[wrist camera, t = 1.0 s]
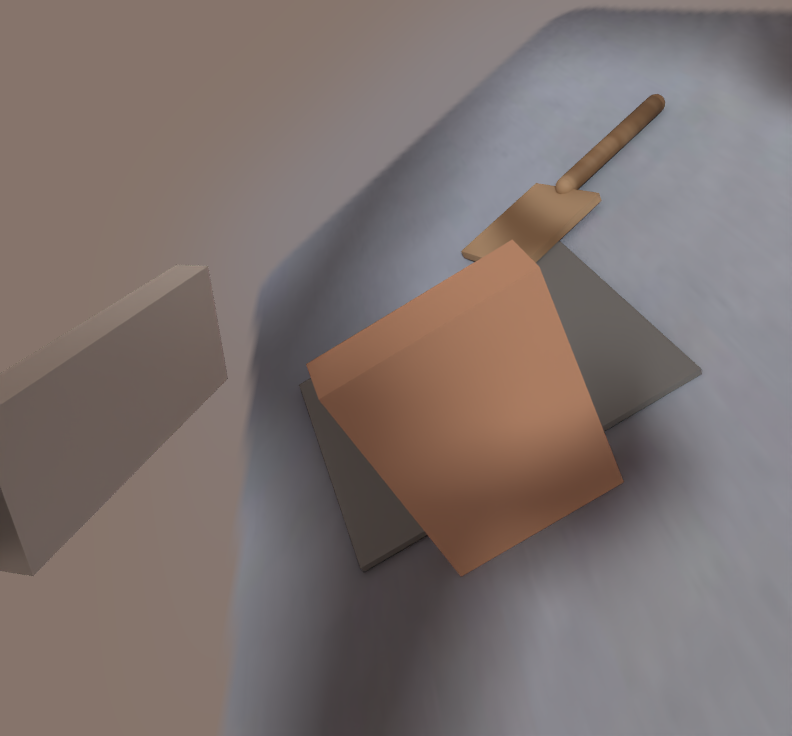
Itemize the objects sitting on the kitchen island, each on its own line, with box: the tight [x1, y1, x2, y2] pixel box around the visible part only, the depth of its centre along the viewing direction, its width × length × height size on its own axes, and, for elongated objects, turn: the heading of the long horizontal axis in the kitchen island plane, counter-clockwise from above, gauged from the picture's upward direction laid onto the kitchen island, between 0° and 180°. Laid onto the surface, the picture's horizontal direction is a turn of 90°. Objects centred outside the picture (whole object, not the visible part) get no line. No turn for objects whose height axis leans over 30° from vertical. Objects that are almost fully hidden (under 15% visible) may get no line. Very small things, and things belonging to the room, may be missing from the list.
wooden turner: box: [461, 94, 665, 263], centre depth 49 cm, size 19×6×1 cm, turn 129°
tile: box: [306, 240, 624, 577], centre depth 30 cm, size 9×2×14 cm, turn 109°
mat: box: [299, 241, 702, 572], centre depth 42 cm, size 20×16×1 cm
